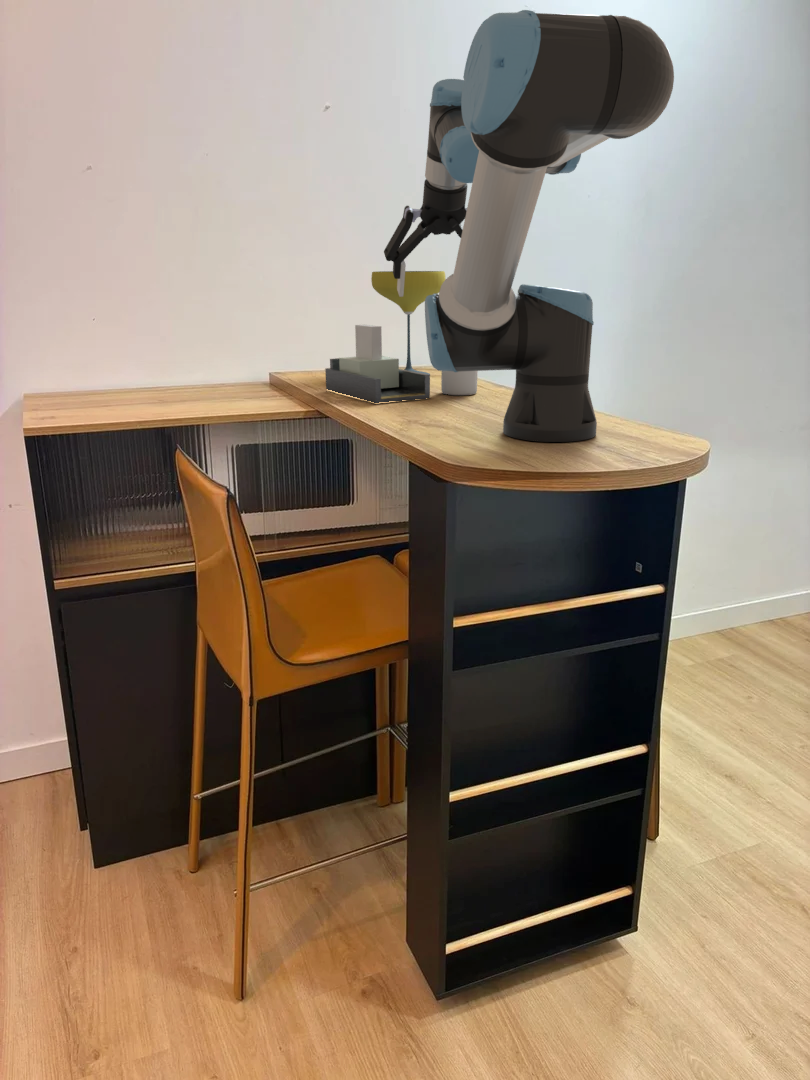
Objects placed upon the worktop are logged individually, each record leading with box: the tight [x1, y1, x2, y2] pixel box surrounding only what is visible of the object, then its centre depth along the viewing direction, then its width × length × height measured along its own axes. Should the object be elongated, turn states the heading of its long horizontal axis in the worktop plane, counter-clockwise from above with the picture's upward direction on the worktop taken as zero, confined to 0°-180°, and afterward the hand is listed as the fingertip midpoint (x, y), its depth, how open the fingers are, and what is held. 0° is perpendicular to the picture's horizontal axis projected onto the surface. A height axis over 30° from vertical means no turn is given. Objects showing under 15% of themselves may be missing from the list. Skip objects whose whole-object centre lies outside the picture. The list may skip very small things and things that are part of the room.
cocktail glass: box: [370, 270, 447, 376], centre depth 204 cm, size 18×18×25 cm
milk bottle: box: [440, 371, 478, 396], centre depth 175 cm, size 8×8×20 cm
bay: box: [324, 357, 431, 403], centre depth 176 cm, size 22×13×7 cm, turn 32°
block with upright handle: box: [338, 324, 400, 389], centre depth 177 cm, size 9×10×13 cm
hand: (435, 291), depth 157 cm, fingers open, 13 cm apart
